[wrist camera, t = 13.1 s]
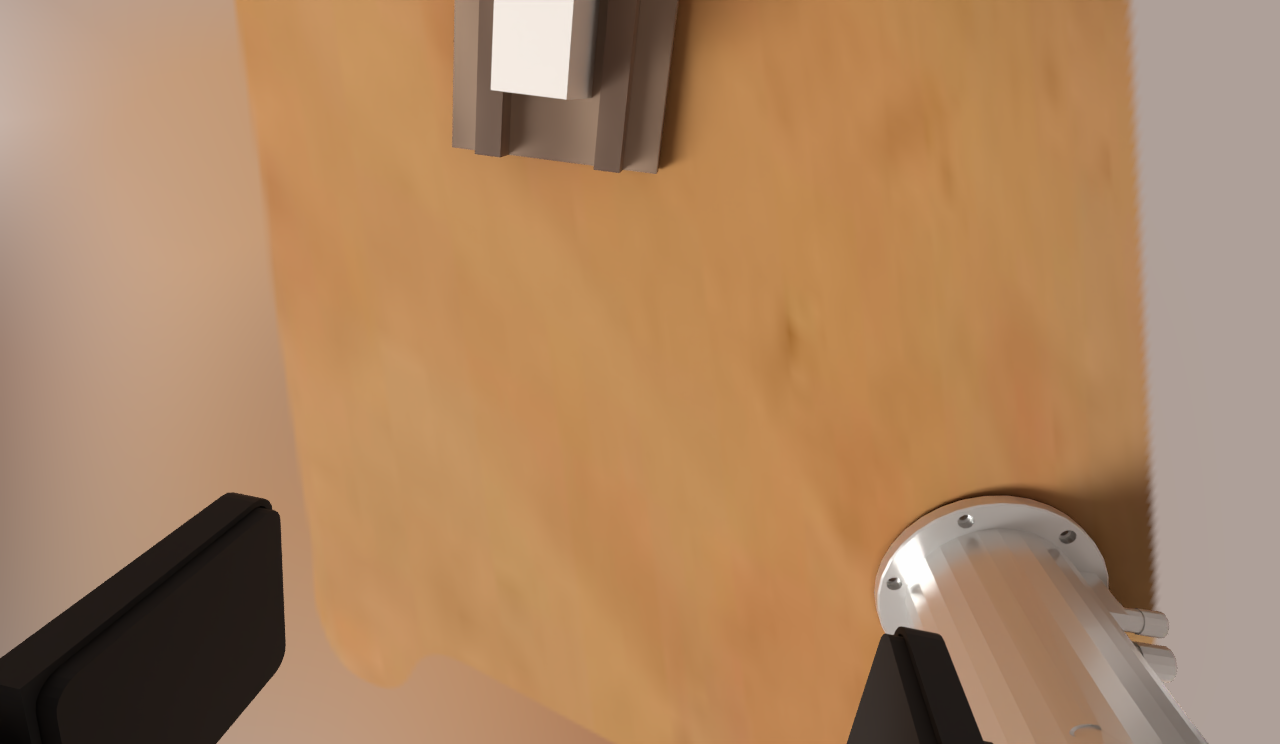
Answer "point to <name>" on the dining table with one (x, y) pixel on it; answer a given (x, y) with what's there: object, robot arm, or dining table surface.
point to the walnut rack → (577, 128)
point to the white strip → (544, 47)
